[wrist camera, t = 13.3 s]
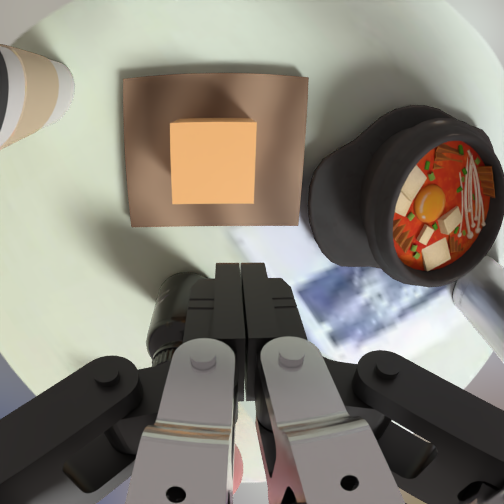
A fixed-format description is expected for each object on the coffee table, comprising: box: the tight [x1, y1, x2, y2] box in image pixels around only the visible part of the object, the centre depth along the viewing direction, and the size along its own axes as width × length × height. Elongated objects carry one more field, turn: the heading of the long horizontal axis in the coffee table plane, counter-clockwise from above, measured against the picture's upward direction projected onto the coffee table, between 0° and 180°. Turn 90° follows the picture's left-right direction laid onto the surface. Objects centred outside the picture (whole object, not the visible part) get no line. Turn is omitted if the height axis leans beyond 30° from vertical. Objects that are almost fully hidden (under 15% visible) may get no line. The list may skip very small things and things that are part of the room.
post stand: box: [123, 73, 309, 227], centre depth 26 cm, size 16×14×6 cm
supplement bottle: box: [146, 272, 207, 367], centre depth 30 cm, size 7×7×12 cm
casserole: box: [308, 105, 504, 287], centre depth 28 cm, size 25×19×8 cm
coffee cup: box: [0, 44, 75, 150], centre depth 17 cm, size 9×9×15 cm
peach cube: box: [170, 118, 257, 204], centre depth 25 cm, size 6×6×6 cm
